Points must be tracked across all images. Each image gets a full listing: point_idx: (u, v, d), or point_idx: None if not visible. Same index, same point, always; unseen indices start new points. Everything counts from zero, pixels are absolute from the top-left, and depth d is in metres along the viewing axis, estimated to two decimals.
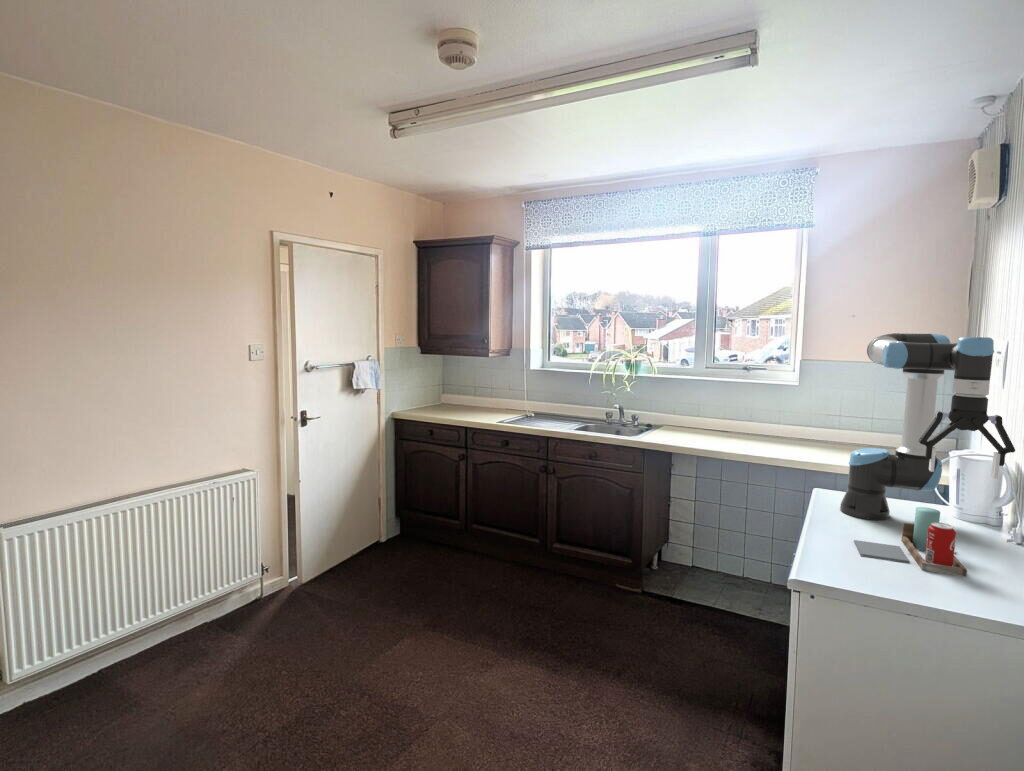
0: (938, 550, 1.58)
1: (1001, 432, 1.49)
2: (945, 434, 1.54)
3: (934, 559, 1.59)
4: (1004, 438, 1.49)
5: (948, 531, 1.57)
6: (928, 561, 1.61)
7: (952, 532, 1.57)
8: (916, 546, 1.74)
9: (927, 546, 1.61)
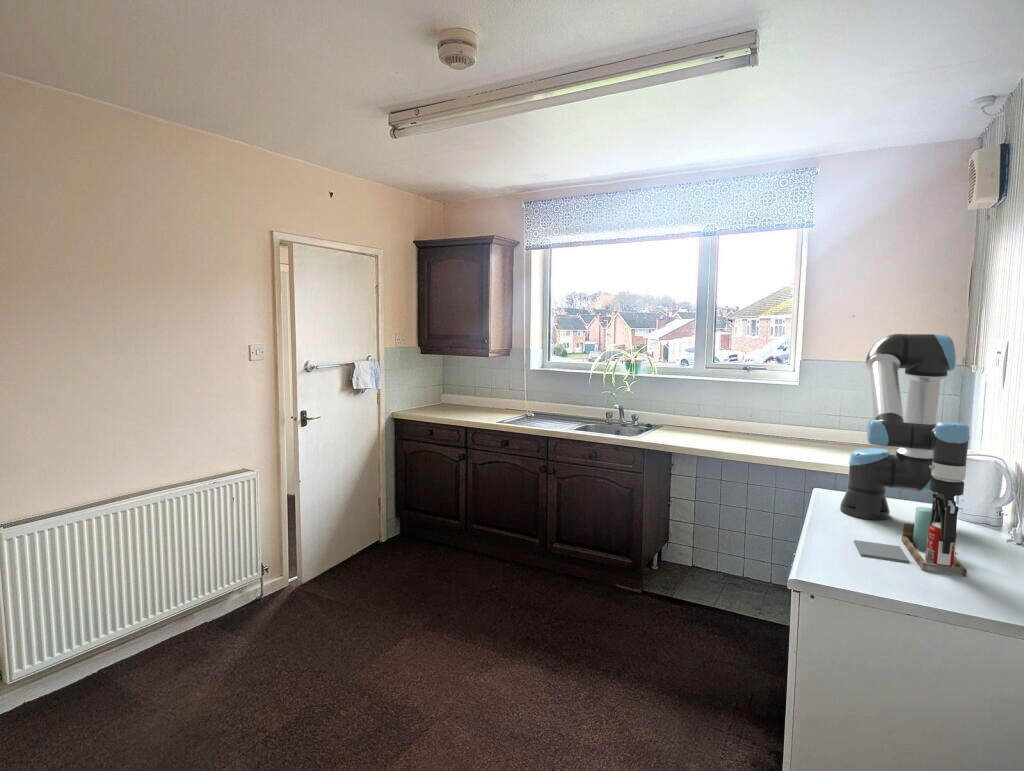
0: None
1: (944, 520, 1.55)
2: (935, 516, 1.63)
3: (934, 559, 1.59)
4: (944, 526, 1.55)
5: None
6: (928, 561, 1.61)
7: None
8: (916, 546, 1.74)
9: (927, 546, 1.61)
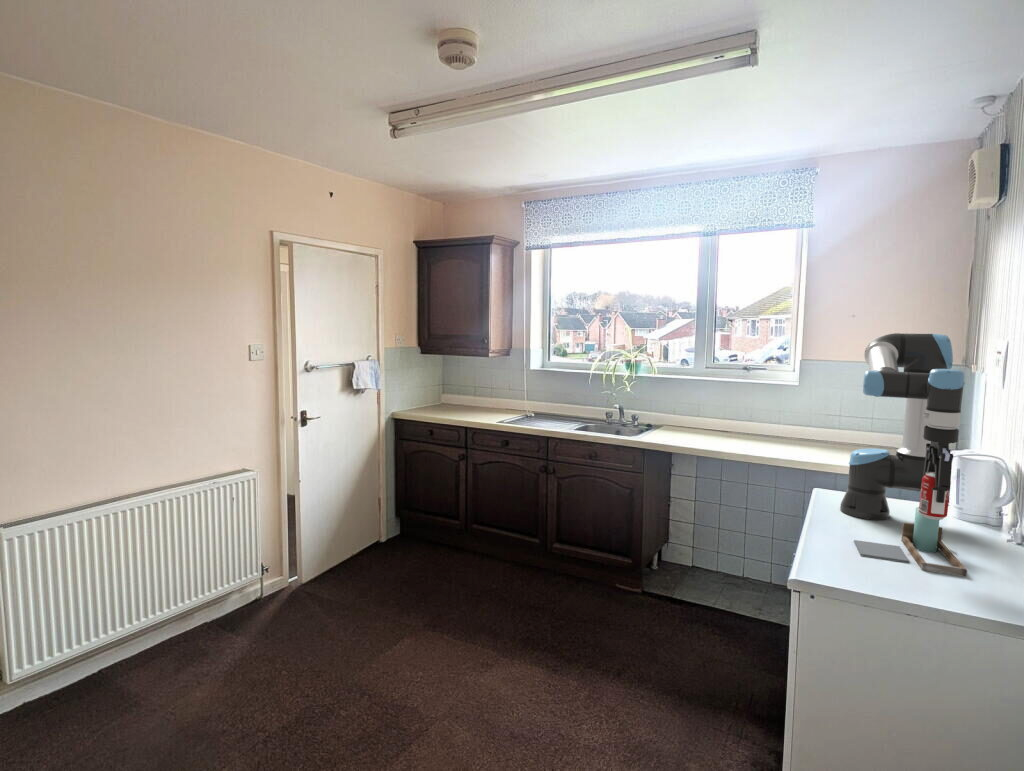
0: None
1: (939, 468, 1.51)
2: (928, 466, 1.59)
3: (928, 509, 1.56)
4: (938, 474, 1.52)
5: None
6: (922, 511, 1.58)
7: None
8: (916, 546, 1.74)
9: (921, 496, 1.58)
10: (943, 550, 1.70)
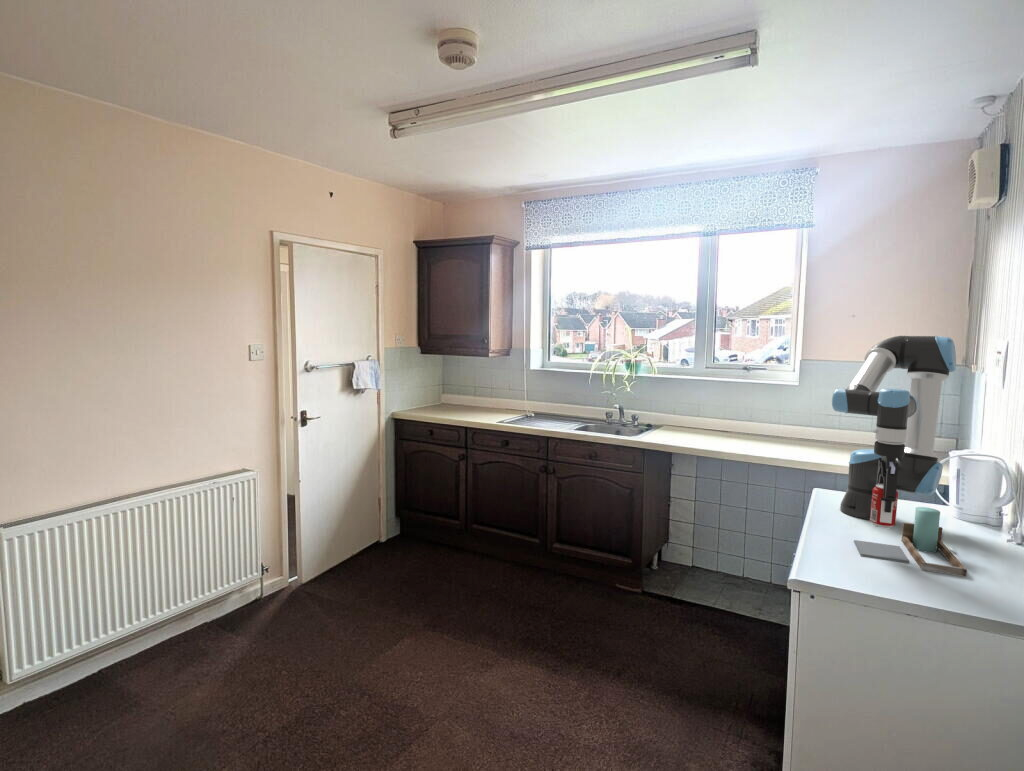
0: None
1: (886, 480, 1.64)
2: (879, 478, 1.72)
3: (877, 518, 1.69)
4: (885, 486, 1.64)
5: None
6: (872, 520, 1.70)
7: None
8: (916, 546, 1.74)
9: (872, 506, 1.71)
10: (943, 550, 1.70)
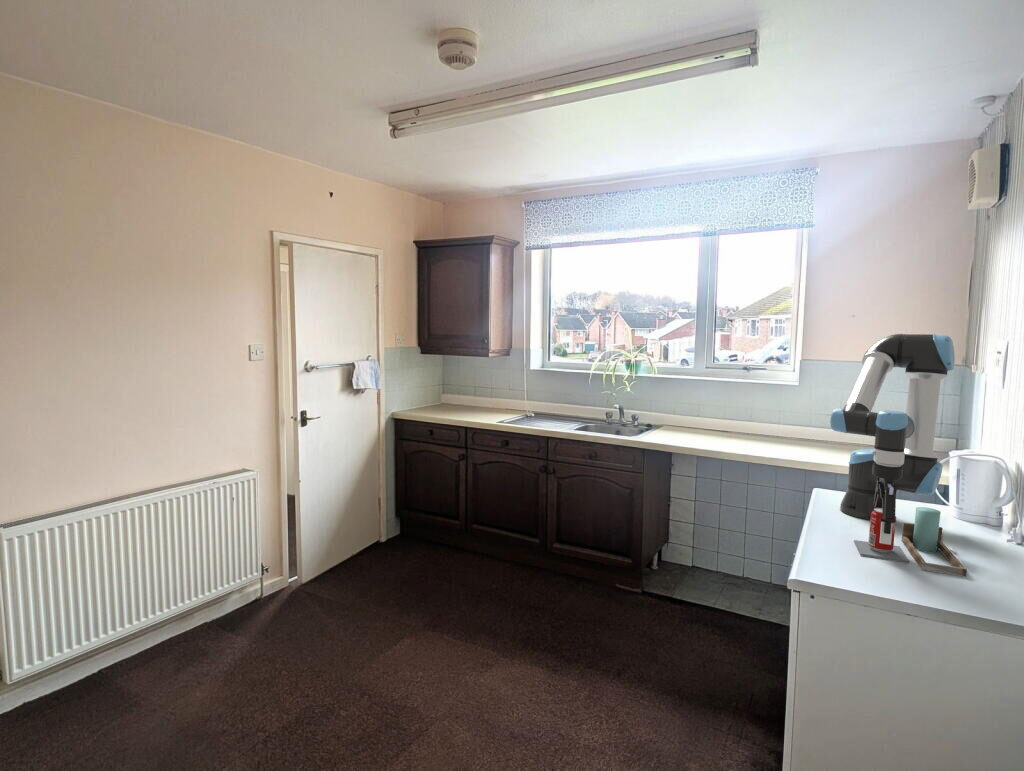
0: (879, 533, 1.69)
1: (885, 501, 1.64)
2: (877, 497, 1.74)
3: (876, 542, 1.69)
4: (884, 507, 1.64)
5: None
6: (870, 544, 1.71)
7: None
8: (916, 546, 1.74)
9: (870, 530, 1.72)
10: (943, 550, 1.70)
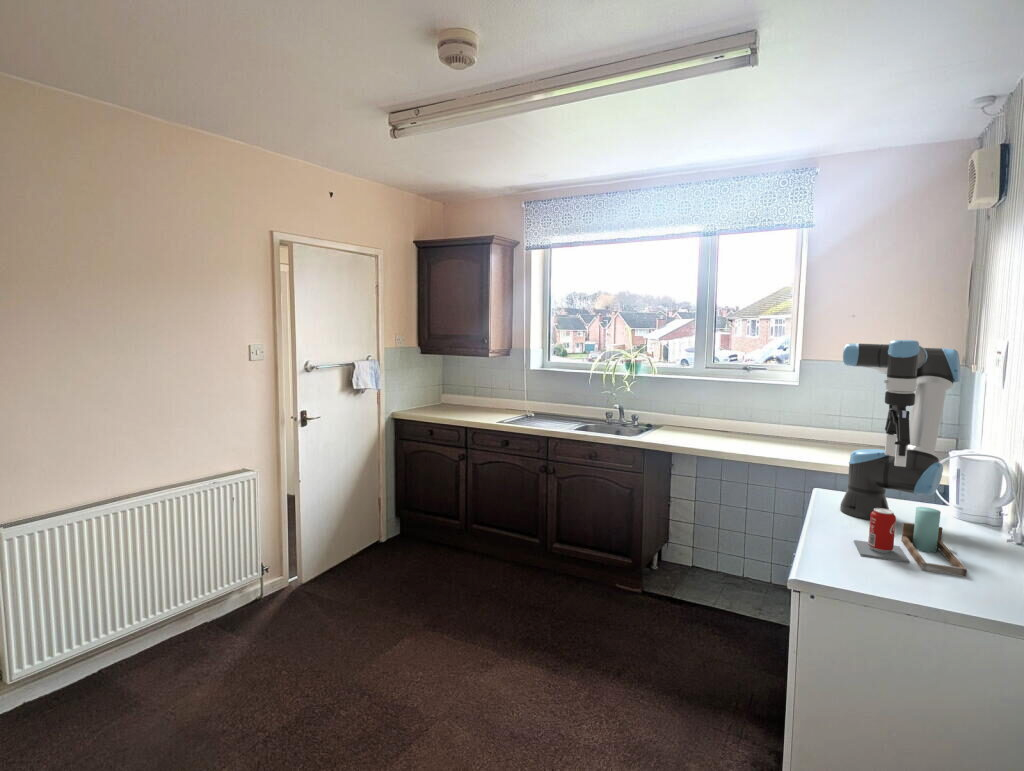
0: (879, 533, 1.69)
1: (898, 425, 1.68)
2: (889, 423, 1.79)
3: (875, 542, 1.69)
4: (898, 430, 1.68)
5: (888, 515, 1.68)
6: (870, 544, 1.71)
7: (892, 517, 1.68)
8: (916, 546, 1.74)
9: (870, 530, 1.72)
10: (943, 550, 1.70)
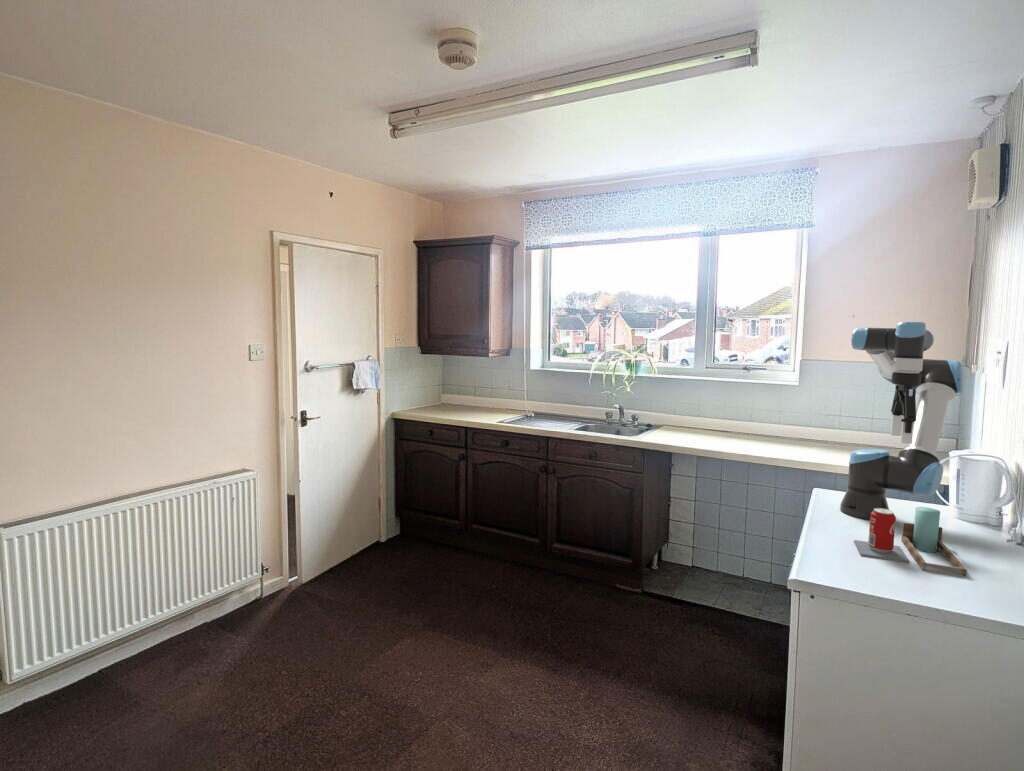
0: (879, 533, 1.69)
1: (905, 403, 1.73)
2: (895, 404, 1.84)
3: (875, 542, 1.69)
4: (905, 408, 1.73)
5: (888, 516, 1.68)
6: (870, 544, 1.71)
7: (892, 517, 1.68)
8: (916, 546, 1.74)
9: (870, 530, 1.72)
10: (943, 550, 1.70)
